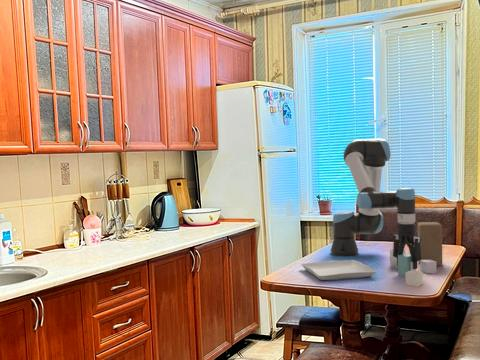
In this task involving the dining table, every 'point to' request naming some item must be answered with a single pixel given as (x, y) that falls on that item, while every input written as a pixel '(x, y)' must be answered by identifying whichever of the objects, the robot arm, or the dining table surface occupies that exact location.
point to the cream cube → (414, 278)
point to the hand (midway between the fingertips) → (407, 274)
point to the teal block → (404, 264)
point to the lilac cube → (428, 266)
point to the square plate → (339, 269)
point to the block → (430, 241)
